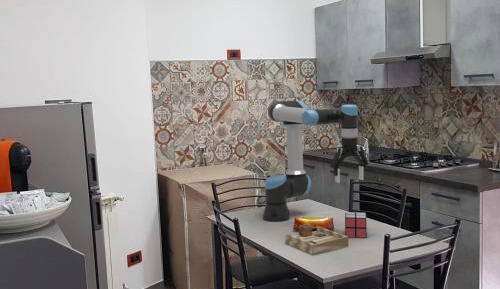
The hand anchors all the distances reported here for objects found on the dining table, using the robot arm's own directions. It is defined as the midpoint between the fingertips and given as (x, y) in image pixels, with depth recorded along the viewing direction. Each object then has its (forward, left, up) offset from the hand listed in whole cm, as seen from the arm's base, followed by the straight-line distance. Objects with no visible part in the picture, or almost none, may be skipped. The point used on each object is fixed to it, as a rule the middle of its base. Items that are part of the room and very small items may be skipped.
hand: (349, 181), depth 243 cm
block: (-6, -23, -24) cm, 34 cm away
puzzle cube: (+2, +2, -27) cm, 27 cm away
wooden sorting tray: (+2, -23, -27) cm, 35 cm away
